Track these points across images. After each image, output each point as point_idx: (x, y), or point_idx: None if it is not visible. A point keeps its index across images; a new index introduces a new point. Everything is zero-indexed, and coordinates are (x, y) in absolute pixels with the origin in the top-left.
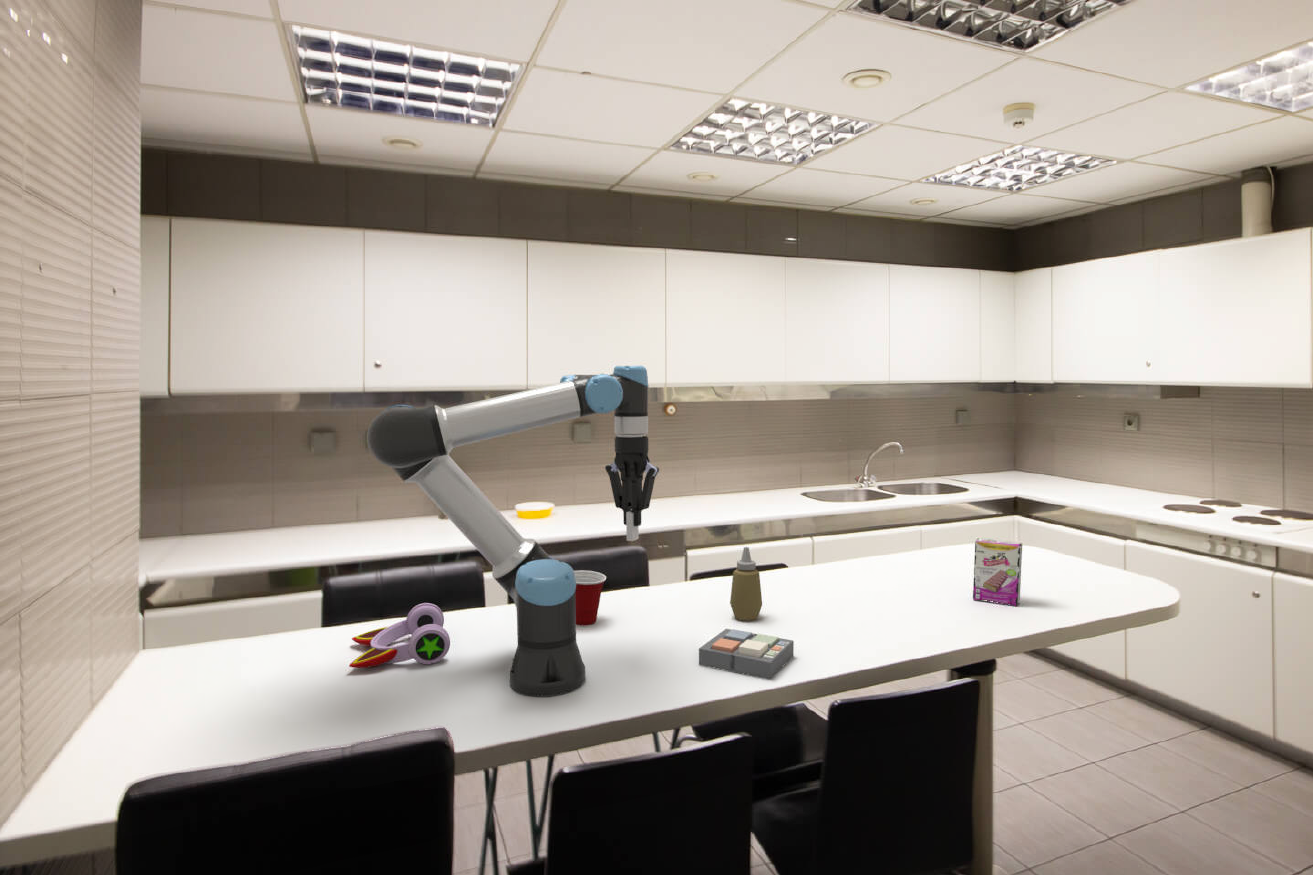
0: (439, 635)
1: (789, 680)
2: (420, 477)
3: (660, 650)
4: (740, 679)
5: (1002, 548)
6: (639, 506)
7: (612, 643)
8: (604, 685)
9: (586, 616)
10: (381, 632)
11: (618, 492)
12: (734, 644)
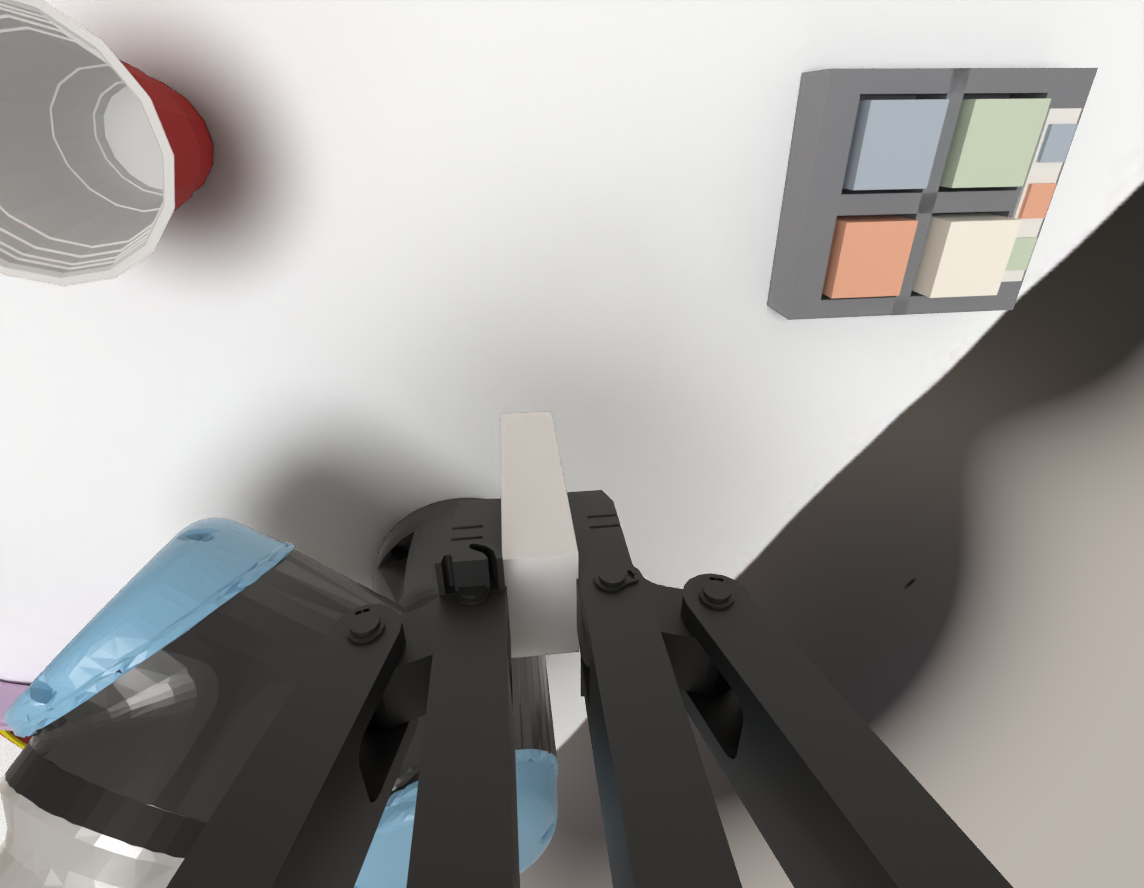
0: None
1: (1027, 274)
2: None
3: (612, 263)
4: (898, 335)
5: None
6: (682, 695)
7: (435, 292)
8: None
9: (196, 189)
10: None
11: (349, 869)
12: (902, 256)
